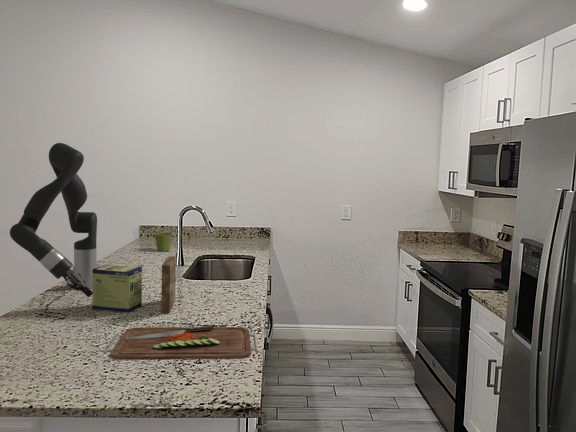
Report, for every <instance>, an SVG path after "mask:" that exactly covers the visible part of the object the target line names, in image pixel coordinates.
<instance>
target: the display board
mask: <svg viewBox="0 0 576 432" xmlns="http://www.w3.org/2000/svg"><path fill="white" fill-rule="evenodd" d="M176 264H177V256H176V255H172V256H169V255H168V256H167V257H166V259H165V260H164V262H163V263H162V264H161V298H160V299H161V303H160V304H161V307H160V308H161V309H160V310H161V311H160V312H161V314H170V313H171V311H172V309H173V306H174V304H175V301H176V276H177V275H176V273H177V272H176V268H177V265H176Z"/></svg>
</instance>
